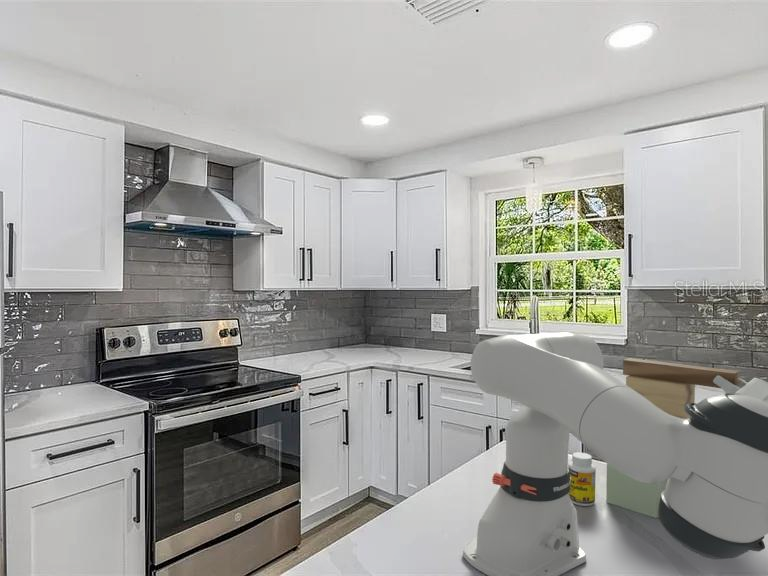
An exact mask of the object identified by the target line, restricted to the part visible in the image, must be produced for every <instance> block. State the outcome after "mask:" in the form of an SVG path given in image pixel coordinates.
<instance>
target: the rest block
mask: <svg viewBox="0 0 768 576" xmlns="http://www.w3.org/2000/svg"><path fill="white" fill-rule="evenodd" d="M666 484H667V480H666V481H664V482H661V483H656V484H647V483H642V482H639V481H636V480H634V479H632V478H631V477H629V476H627V475H625V474H623V473H622V472H620V471H619V470H617V469H615V468H614V467H612V466H611V465H609V464H608V463H606V496H605V497H606V500H605V503H608V504H610V505H614V506H617V507H619V508H620V507H621V508H623V509H626V510H629V511H632V512H636V513H639V514H641V515H644V516H647V517H651V518H655V519H657V518H659V517H658V508H659V501H660V496H661V493H662V491H664V490H665V488H666Z"/></svg>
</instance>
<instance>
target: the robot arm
mask: <svg viewBox="0 0 768 576" xmlns="http://www.w3.org/2000/svg"><path fill="white" fill-rule="evenodd" d="M604 363H605V362H604V356H603V352H602V350H601V348H600V345H598V343H597V342H596V341H595V339H593V338H592V337H590V336H587V335H583V334H579V333H573V332H567V331H562V332H561V331H560V332H559V331H558V332H542V333H541V332H540V333H539V332H538V333H523V334H522V333H521V334H504V335H499V336H496V337H492V338H488V339H485V340H482V341H480V342H478V344H477V345H476V346H475V348H474V349H473V352H472V354H471V358H470V372H471V375H472V378H473V380H474V382H475V384H476V385H477V387H479V389H480V390H481V391H482V392H483V393H485V394H488V395H493V396H497V397H501V398H504V399H507V400H510V401H514V402H516V403H518V404H521V405H523V406H522V407H521V408H520V409H518V410H517V411H516V412H515V413H513V415H511V416H510V417H509V419H508V421H507V424H506V427H505V461H503V466H502V469H501V473H499V472H495V473H493V476H492V479H491V482H492V484H493V485H497V486H499V488H498V489H497V491H496V493H495V495H494V496H493V498H492V499H491V501H490V502H489V503H488V506H486V507H487V508H486V509H485V511H484V512H483V514H482V516H481V518H480V519H479V521H478V526H477V533H476V535H475V536H474V537H473V538H472V539H471V541H470V542H469V543H468V544H467V545H466V546H465V547H464V548H463V551H462V556H463V558H464V559H465V560H466V561H467V563H468V564H469V565H470V566H472V567H474V568H475V569H476V570H478V571H480V572H481V573H483V574H484V575H487V576H562V575H563V574H565V573H566V572H567V573H568V571H570V570H572V569H574V568H577V567H578V566H580V565H582V564H584V563H586V561H587V555H586V552H585V551H584V550H583V549H582V548H581V547H580V542H579V541H580V540H579V537H580V536H579V525H578V524H579V523H578V521H579V520H578V511H577V509H576V506H575V504H574V503H572V501H571V499H570V496H569V491H570V483H571V477H570V470H569V468H568V465H569V441H570V434H571V435H572V436H574V438H576V439H577V440H578V441H579V442H580V443H581V444H583V445H584V446H585V447H586V448H588V450H590V451H591V452H592V453H593V454H594V455H596V456H597V457H598V458H599V459H600V460H602V461H603V462H605V463H606V464H607V463H608V464H609V465H611V466H612V467H614V468H615V469H617V470H619V471H620V472H622V473H623V474H625V475H627V476H629V477H631V478H632V479H634V480H636V481H639V482H642V483H647V484H656V483H661V482H664V481H666V480H668V481H667V484H666V488H665V490H664V491H662V493H661V496H660V501H659V508H658V517H657V518H658V519H659V523H661V525H662V527H663V528H664V530H665V531H666V532H667V534H668V535H670V537H672V538H673V540H675V542H677V543H679V544H680V545H682V546H683V547H684V548H686V549H687V550H689V551H691V552H693V553H695V554H697V555H699V556H701V557H703V558H707V559H711V560H726V559H734V558H737V557H740V556H742V555H743V554H745V553H748V552H749V551H751V552H761V551H763V550H765V548H766V546H765V545H766V544H765V541H764V540H763V539H765V536H766V535H768V381H766V380H764V379H761V378H758V377H753V378H752V379H751V380H749V381H748V382H747V381H746V380H744V379H742V378H740V377H739V382H738V386H736V385H733V384H732V383H731V382H729V381H728V380H727V379H726V378H725V377H723V376H721V375H718V376H716V377H715V379H714V380H713V382H714V383H715V384H716V385H718V386H720V387H721V388H722V390H723V391H724V393H720V394H716V395H712V396H707V397H706V398H704V399H702V400H700V401H699V402H698V403H695V402H694V403H692V402H690V403H688V404H687V405H685V406H684V409H685V411H686V412H687V413H688V414H689V415H690V416H691V418H688V419H683V418H678V417H675V416H672V415H670V414H668V413H666V412H664V411H663V410H661V409H659V408H658V407H657V406H655V405H654V404H653V403H651V402H650V401H649V400H647V399H646V398H645V397H643V396H642V395H640V394H639V393H637V392H636V391H635V390H633V389H632V388H630V387H628V386H627V385H626V383H624V382H622V381H621V380H619V379H618V378H616V377H614V376H613V375H611V374H610V373H608V372H606V371H605V370H604V365H605V364H604ZM721 388H720V389H721Z"/></svg>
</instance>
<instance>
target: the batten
mask: <svg viewBox="0 0 768 576" xmlns="http://www.w3.org/2000/svg"><path fill="white" fill-rule="evenodd" d="M739 373H740V371H739V370H733V369H727V368H726V369H724V368H717V367H707V366H702V365H701V366H699V365H692V364H691V365H689V364H682V363H673V362H665V361H657V360H649V359H641V358H634V357H633V358H631V357H628V358H625V359H624V358H623V359H622V375H625V376H629V375H630V376H637V377H644V378H651V379H658V380H665V381H672V382H679V383H686V384H693V385H695V386H701V387H708V388H715V389H722V388H721V387H720V386H718V385H716V384H715V383H714V382H713V380H714V379H715V377H716V376H718V375H721V376H723V377H725V378H726V379H727V380H728V381H729V382H731V383H732V384H733V385H736V386H738V382H739V378H740V377H739V375H740V374H739ZM722 390H723V389H722Z"/></svg>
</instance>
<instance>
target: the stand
mask: <svg viewBox="0 0 768 576" xmlns="http://www.w3.org/2000/svg"><path fill="white" fill-rule="evenodd" d="M625 385H627V386H628V387H630V388H632V389H633V390H635V391H636V392H637V393H639V394H640V395H642V396H643V397H645V398H646V399H647V400H649V401H650V402H651V403H653V404H654V405H655V406H657V407H658V408H659V409H661V410H663V411H664V412H666V413H668V414H670V415H672V416H675V417H678V418H683V419H688V418H691V416H690V415H689V414H688V413H687V412H686V411H685V409H684V406H685V405H687V404H688V403H690V402H692V403H695V397H696V396H695V395H696V393H695V390H696V385H693V384H686V383H679V382H672V381H665V380H658V379H651V378H644V377H637V376H630V375H626V376H625ZM667 481H668V480H667Z"/></svg>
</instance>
